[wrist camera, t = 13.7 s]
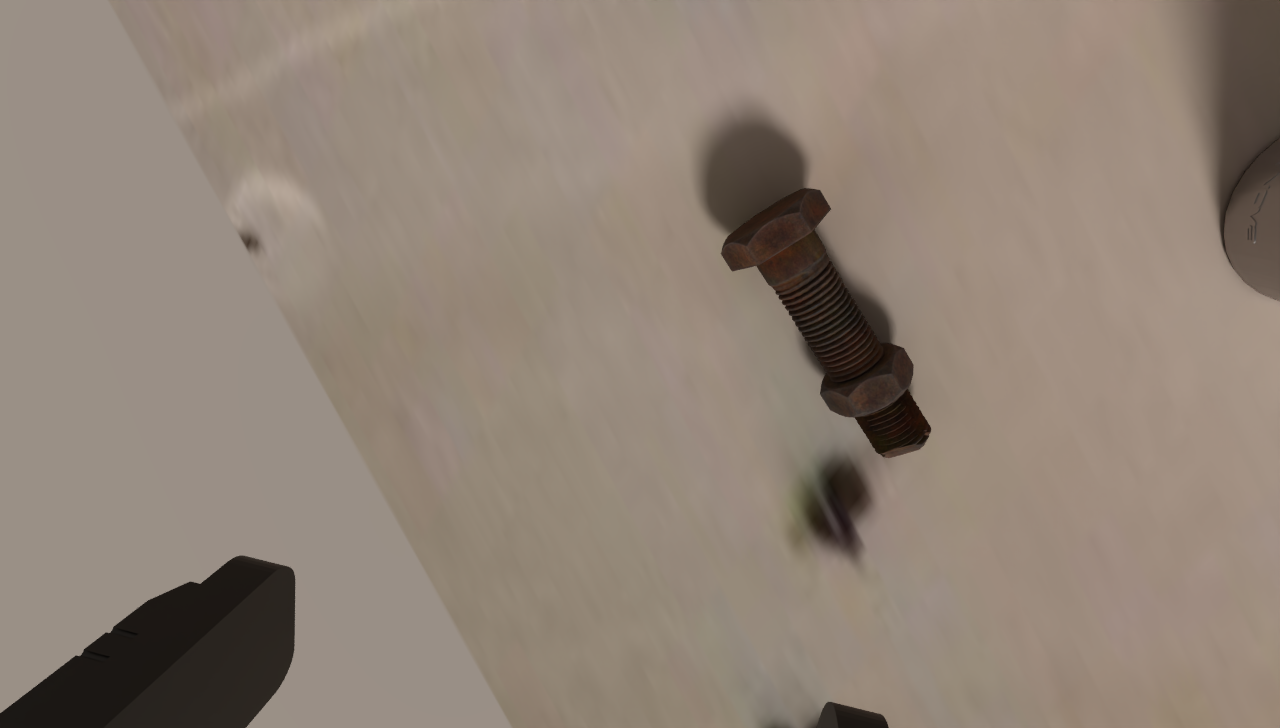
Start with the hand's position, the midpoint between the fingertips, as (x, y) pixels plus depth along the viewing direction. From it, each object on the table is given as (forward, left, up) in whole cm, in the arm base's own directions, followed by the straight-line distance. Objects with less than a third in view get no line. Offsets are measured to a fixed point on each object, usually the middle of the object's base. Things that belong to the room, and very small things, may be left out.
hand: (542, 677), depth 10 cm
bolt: (-8, +1, -31) cm, 32 cm away
